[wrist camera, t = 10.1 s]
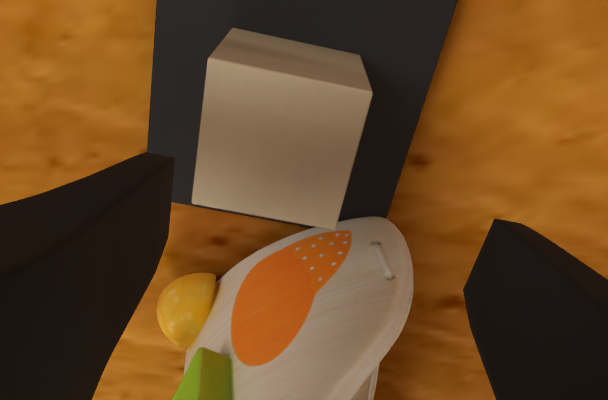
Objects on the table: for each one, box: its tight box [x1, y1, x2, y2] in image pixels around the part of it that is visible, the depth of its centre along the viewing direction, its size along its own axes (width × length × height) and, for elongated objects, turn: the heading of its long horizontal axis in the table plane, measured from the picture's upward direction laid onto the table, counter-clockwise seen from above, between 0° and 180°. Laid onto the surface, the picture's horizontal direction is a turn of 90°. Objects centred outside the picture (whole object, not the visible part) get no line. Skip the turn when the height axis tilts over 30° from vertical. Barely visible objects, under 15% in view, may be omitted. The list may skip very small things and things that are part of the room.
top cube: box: [191, 28, 373, 230], centre depth 17 cm, size 5×5×5 cm
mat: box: [147, 0, 458, 228], centre depth 19 cm, size 10×10×1 cm
